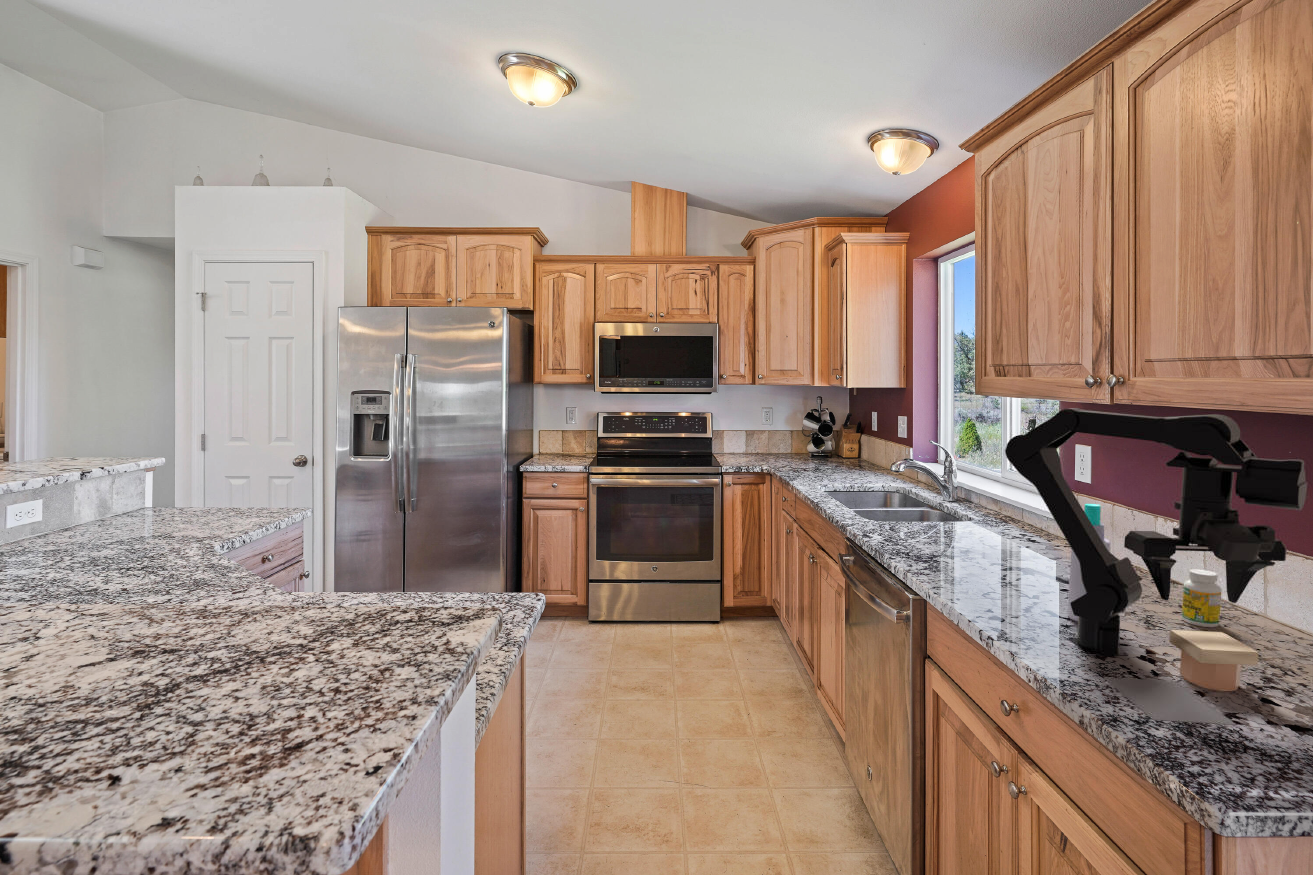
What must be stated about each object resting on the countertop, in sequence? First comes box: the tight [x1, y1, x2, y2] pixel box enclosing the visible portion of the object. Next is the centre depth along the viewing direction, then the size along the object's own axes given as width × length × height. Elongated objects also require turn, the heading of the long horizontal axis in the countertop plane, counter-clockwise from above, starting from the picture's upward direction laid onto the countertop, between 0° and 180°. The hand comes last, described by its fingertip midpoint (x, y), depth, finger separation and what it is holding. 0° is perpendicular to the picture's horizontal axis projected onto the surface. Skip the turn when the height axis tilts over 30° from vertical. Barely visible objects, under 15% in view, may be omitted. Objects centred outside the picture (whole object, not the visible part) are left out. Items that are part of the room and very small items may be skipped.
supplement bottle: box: [1181, 568, 1222, 628], centre depth 119 cm, size 5×5×10 cm
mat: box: [1103, 677, 1237, 726], centre depth 91 cm, size 12×10×1 cm
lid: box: [1168, 629, 1260, 667], centre depth 96 cm, size 7×7×2 cm
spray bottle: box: [1067, 503, 1111, 623], centre depth 121 cm, size 6×6×22 cm
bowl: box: [1179, 650, 1242, 692], centre depth 96 cm, size 6×6×5 cm
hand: (1198, 600), depth 97 cm, fingers open, 9 cm apart
